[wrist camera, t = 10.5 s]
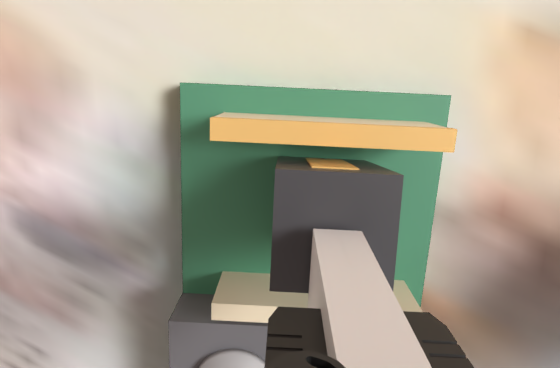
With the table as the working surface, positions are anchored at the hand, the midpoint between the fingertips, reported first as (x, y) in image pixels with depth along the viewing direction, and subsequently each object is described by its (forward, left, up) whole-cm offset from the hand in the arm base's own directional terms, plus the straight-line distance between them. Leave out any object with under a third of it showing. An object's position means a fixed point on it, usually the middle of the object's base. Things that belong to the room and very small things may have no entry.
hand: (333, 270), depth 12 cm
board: (-3, 0, -8) cm, 8 cm away
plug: (0, 0, -6) cm, 6 cm away
